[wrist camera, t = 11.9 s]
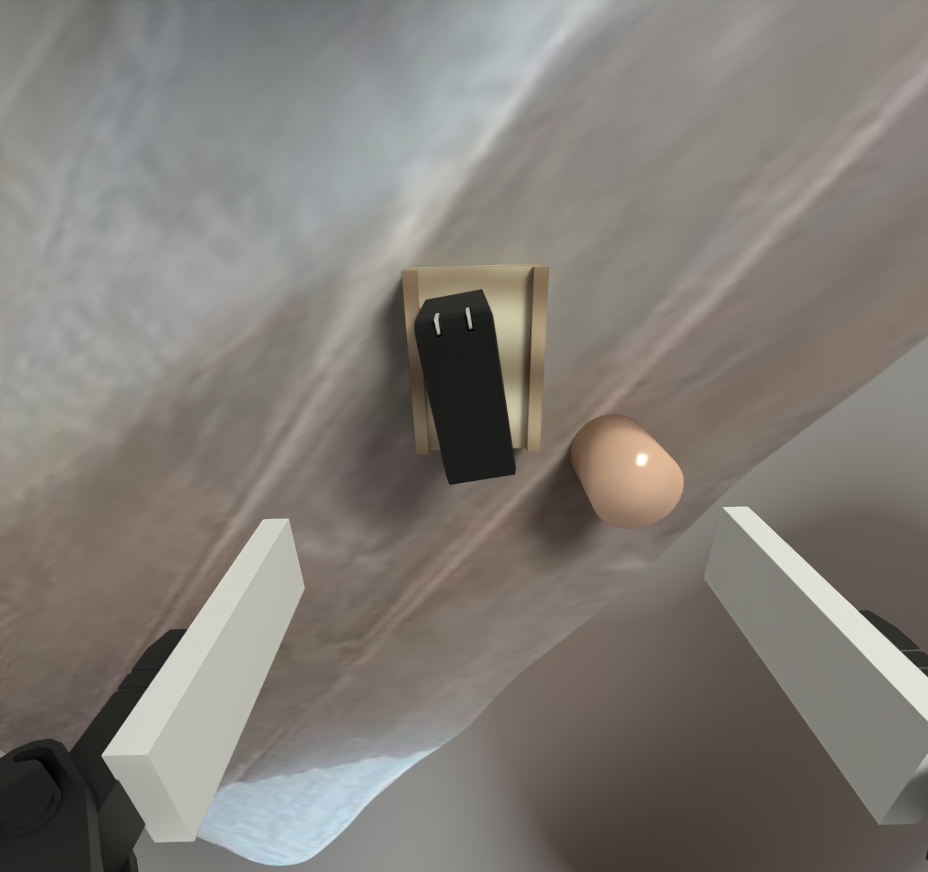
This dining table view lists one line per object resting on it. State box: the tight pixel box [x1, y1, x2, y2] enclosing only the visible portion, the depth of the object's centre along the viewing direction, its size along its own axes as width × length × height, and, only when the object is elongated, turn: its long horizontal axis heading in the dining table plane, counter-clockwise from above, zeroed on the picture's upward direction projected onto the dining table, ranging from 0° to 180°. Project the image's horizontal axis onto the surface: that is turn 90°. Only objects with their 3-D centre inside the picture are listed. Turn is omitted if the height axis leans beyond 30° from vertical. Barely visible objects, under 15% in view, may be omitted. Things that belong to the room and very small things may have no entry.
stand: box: [402, 264, 549, 455], centre depth 34 cm, size 14×10×4 cm
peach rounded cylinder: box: [570, 415, 683, 529], centre depth 37 cm, size 7×7×7 cm
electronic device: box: [414, 289, 516, 485], centre depth 29 cm, size 4×10×10 cm, turn 10°
